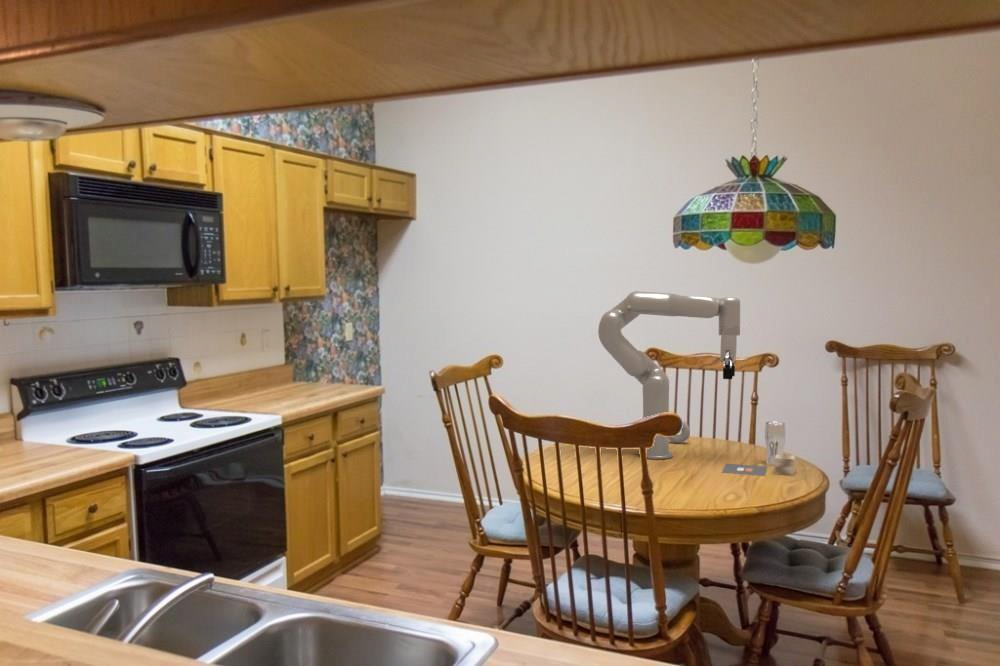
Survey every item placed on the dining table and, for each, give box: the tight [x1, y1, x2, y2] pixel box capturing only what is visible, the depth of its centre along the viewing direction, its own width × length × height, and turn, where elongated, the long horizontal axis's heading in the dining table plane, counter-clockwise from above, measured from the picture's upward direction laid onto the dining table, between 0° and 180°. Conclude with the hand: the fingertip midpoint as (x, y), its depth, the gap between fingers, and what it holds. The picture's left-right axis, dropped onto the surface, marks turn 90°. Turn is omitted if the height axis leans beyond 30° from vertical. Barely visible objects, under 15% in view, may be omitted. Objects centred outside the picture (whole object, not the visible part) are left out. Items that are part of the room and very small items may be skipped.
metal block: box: [774, 454, 795, 476], centre depth 254 cm, size 6×6×6 cm
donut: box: [669, 420, 691, 444], centre depth 305 cm, size 10×3×10 cm, turn 68°
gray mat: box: [721, 463, 768, 477], centre depth 259 cm, size 14×14×1 cm
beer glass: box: [764, 421, 787, 466], centre depth 267 cm, size 7×7×15 cm
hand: (728, 377), depth 275 cm, fingers open, 9 cm apart
